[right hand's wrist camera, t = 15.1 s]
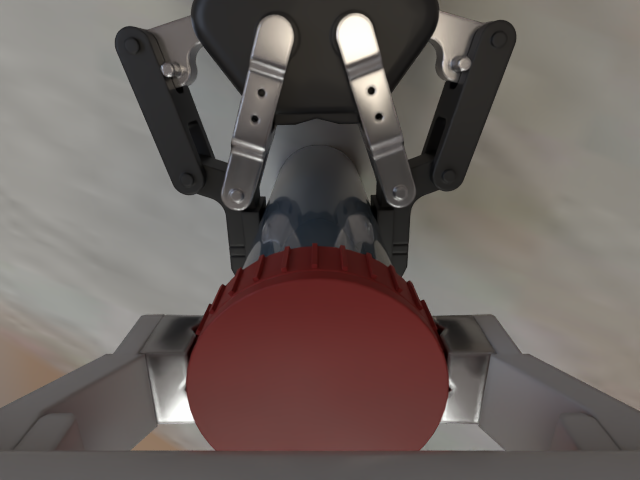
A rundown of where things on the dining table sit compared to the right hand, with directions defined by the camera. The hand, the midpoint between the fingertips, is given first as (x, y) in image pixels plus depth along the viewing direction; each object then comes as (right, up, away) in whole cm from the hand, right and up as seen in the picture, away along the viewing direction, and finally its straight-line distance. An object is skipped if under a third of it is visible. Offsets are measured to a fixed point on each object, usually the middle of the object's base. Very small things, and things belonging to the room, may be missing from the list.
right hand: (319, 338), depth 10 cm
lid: (0, -1, -1) cm, 2 cm away
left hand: (0, +1, +9) cm, 9 cm away
